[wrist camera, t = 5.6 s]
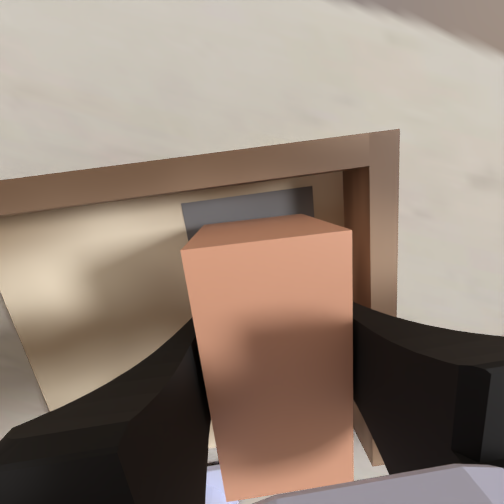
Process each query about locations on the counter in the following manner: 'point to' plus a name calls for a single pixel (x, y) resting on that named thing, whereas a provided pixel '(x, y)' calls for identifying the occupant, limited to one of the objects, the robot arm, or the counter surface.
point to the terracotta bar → (275, 350)
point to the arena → (175, 247)
